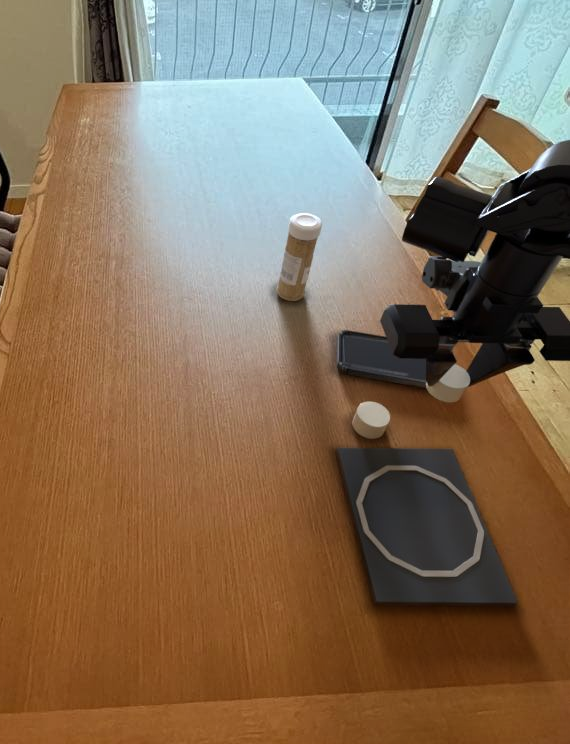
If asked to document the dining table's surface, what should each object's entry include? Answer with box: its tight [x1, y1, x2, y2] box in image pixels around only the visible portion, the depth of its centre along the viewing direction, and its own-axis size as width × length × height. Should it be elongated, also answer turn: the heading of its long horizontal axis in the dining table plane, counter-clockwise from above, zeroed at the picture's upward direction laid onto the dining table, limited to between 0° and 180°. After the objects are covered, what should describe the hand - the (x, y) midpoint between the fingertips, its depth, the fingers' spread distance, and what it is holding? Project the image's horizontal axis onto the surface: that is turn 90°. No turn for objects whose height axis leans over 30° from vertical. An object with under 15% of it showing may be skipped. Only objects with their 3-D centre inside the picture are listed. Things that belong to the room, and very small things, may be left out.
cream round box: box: [351, 401, 391, 440], centre depth 70 cm, size 4×4×2 cm
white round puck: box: [425, 363, 470, 403], centre depth 64 cm, size 4×4×2 cm
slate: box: [335, 447, 519, 608], centre depth 61 cm, size 14×18×1 cm
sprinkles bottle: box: [275, 212, 323, 302], centre depth 84 cm, size 5×5×14 cm
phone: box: [336, 329, 427, 389], centre depth 78 cm, size 8×1×15 cm
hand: (447, 383), depth 64 cm, fingers closed on white round puck, 4 cm apart
